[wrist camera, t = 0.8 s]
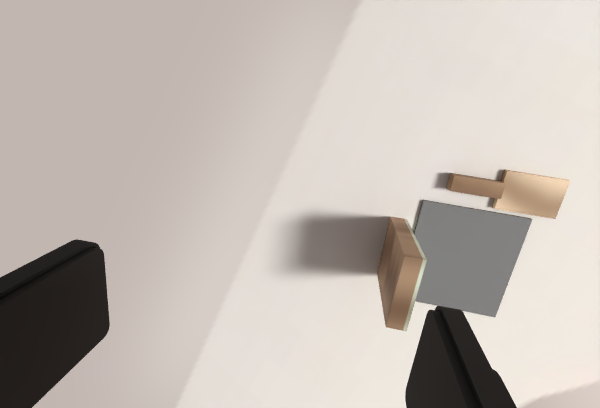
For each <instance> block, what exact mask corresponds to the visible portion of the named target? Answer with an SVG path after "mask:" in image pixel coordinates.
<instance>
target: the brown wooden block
mask: <svg viewBox="0 0 600 408" xmlns="http://www.w3.org/2000/svg"><path fill="white" fill-rule="evenodd" d="M426 262H427V259H426V257H425V255H424V253H423V251H422V249H421V247H420V245H419V243H418V241H417V239H416V237H415V235H414V233H413V231H412V229H411V226H410V224H409V222H408V220H407V219H401V218H395V217H390V221H389V225H388V230H387V234H386V238H385V242H384V246H383V251H382V255H381V259H380V263H379V267H378V271H377V274H378V281H379V287H380V293H381V300H382V306H383V312H384V319H385V325H386V327H388V328H393V329H398V330H402V331H407V328H408V324H409V321H410V317H411V314H412V310H413V307H414V303H415V300H416V296H417V293H418V289H419V286H420V282H421V279H422V275H423V272H424V269H425V265H426Z"/></svg>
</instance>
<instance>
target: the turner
mask: <svg viewBox="0 0 600 408" xmlns="http://www.w3.org/2000/svg"><path fill="white" fill-rule="evenodd" d="M569 183H570V181H569V180H565V179H559V178H553V177H547V176H541V175H534V174H528V173H522V172H516V171H510V170H504V173H503V176H502V179H501V181H497V180H491V179H485V178H478V177H472V176H466V175H460V174H454V173H451V174H450V178H449V181H448V185H447V189H449V190H450V191H455V192H461V193H467V194H473V195H479V196H485V197H491V198H495V200H494V203H493V206H492V207H493V208H494V209H500V210H506V211H512V212H518V213H524V214H530V215H535V216H541V217H547V218H553V219H555V218H556V216H557V213H558V211H559V208H560V206H561V203H562V201H563V198H564V196H565V193H566V191H567V188H568V186H569Z"/></svg>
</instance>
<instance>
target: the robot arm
mask: <svg viewBox="0 0 600 408" xmlns="http://www.w3.org/2000/svg"><path fill="white" fill-rule="evenodd" d="M106 287H107V286H106V274H105V262H104V253H103V251H102V250H101V249H100V247H99V245H98V244H96V243H93V242H87V241H82V240H73V241H71V242H69V243H67V244H65V245H63V246H61V247H59V248H57V249H55V250H53V251H51V252H49V253H47V254H46V255H43V256H41V257H40V258H38V259H36V260H34V261H32V262H30V263H28V264H26V265H24V266H22V267H20V268H18V269H16V270H14V271H12V272H10V273H8V274H6V275H4V276H2V277H1V278H0V408H32V407H33V406H34V405H35V404H36V403H37V402H38V401H39V400H40V399H41V398H42V397H43V396H44V395H45V394H46V393H47V392H48V391H49V390H50V389H51V388H53V387H54V386H55V385H56V384H57V383H58V382H59V381H60V380H61V379H62V378H63V377H64V376H65V375H66V374H67V373H68V372H69V371H70V370H71V369H72V368H73V367H74V366H75V365H76V364H77V363H78V362H79V361H80V360H81V359H83V358H84V357H85V355H87V353H89V352H90V351H91V350H92V349H93V348H94V347H95V346H96V345H97V344H98V343H99V342H100V341H101V340H102V339H103V338H104V337H105V336H106V334H107V332H108V330H109V311H108V299H107V288H106ZM405 397H406V406H407V408H517V407H516V405H515V403H514V402H513V400H512V398H511V396H510V394H509V392H508V390H507V388H506V386H505V385H504V383H503V381H502V379H501V377H500V376H499V374H498V373H497V372H496V371H495V370H493V369H492V368H491V366H490V364H489V362H488V360H487V358H486V356H485V354H484V352H483V350H482V348H481V347H480V345H479V343H478V341H477V339H476V337H475V335H474V333H473V331H472V329H471V327H470V325H469V323H468V321H467V319H466V317H465V315H464V313H463V312H462V310H460V309H454V308H449V307H443V306H437V307H436V309H435V311H434V310H429V311H428V313H427V316H426V319H425V323H424V326H423V330H422V333H421V337H420V341H419V344H418V348H417V351H416V355H415V358H414V362H413V365H412V369H411V373H410V376H409V380H408V383H407V387H406V396H405Z"/></svg>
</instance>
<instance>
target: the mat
mask: <svg viewBox="0 0 600 408" xmlns="http://www.w3.org/2000/svg"><path fill="white" fill-rule="evenodd" d="M531 221H532V219H531V218H525V217H519V216H514V215H508V214H502V213H496V212H490V211H485V210H479V209H473V208H467V207H462V206H456V205H450V204H444V203H438V202H433V201H427V200H423V202H422V206H421V210H420V214H419V217H418V221H417V225H416V229H415V232H414V235H415V237H416V239H417V241H418V243H419V245H420V247H421V249H422V251H423V253H424V255H425V257H426V259H427V262H426V265H425V269H424V272H423V275H422V279H421V282H420V286H419V289H418V293H417V296H416V300H415V301H417V302H422V303H427V304H432V305H437V306H443V307H449V308H454V309H460V310H462V311H467V312H472V313H476V314H481V315H486V316H491V317H495V316H496V314H497V311H498V308H499V306H500V303H501V300H502V298H503V295H504V293H505V290H506V287H507V285H508V282H509V279H510V277H511V274H512V271H513V269H514V266H515V263H516V261H517V258H518V256H519V253H520V250H521V248H522V245H523V242H524V240H525V237H526V234H527V232H528V229H529V227H530V224H531Z"/></svg>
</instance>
